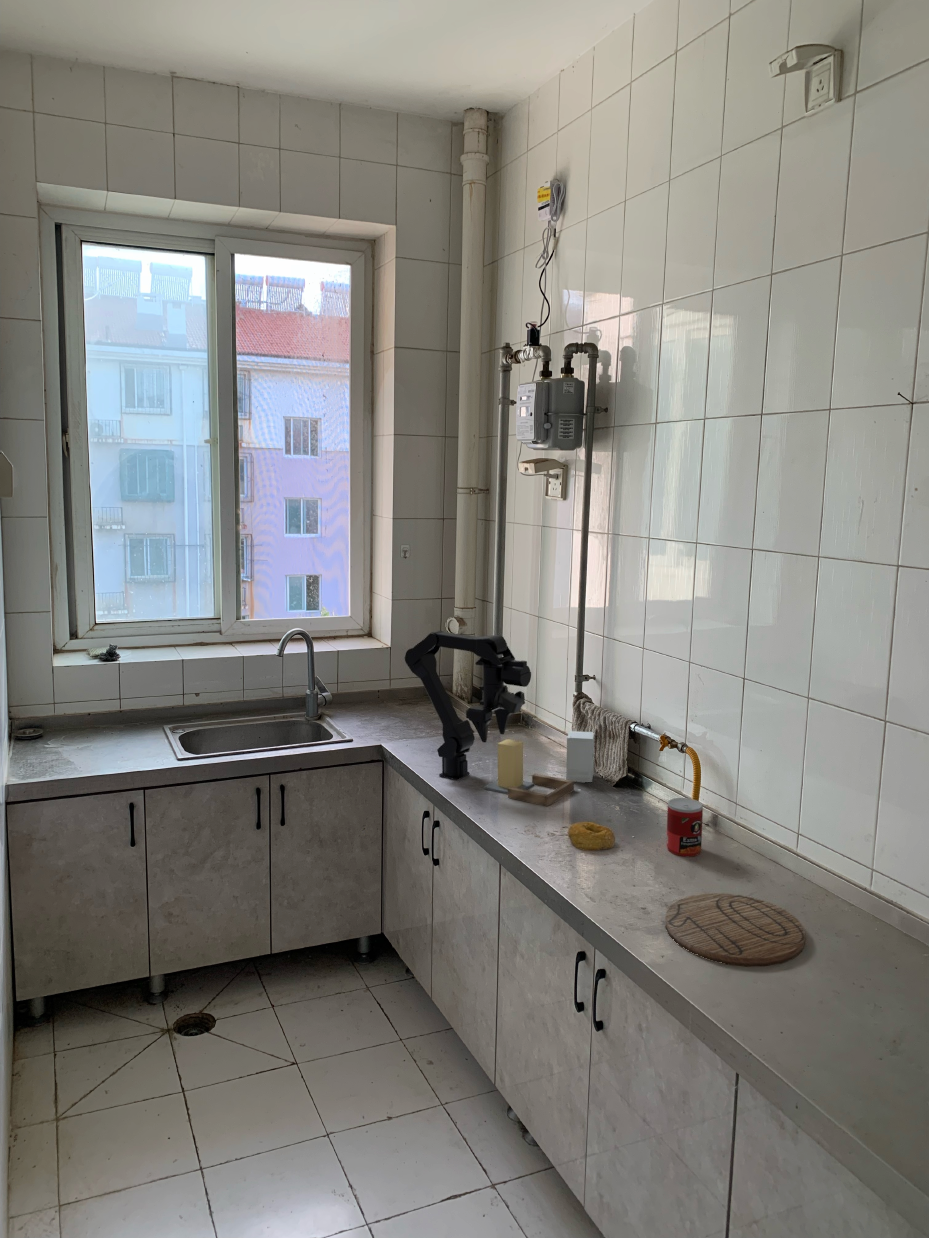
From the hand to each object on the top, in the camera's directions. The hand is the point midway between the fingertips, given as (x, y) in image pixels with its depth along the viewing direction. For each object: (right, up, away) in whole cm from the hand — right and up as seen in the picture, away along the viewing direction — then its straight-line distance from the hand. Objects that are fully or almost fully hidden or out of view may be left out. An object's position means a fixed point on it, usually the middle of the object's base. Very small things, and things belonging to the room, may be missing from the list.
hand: (493, 738), depth 252 cm
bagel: (+21, -20, -39) cm, 49 cm away
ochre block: (+5, -13, -1) cm, 14 cm away
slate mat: (+4, -13, -1) cm, 14 cm away
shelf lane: (+12, -14, -6) cm, 19 cm away
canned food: (+42, -20, -43) cm, 63 cm away
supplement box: (+24, -12, +6) cm, 28 cm away
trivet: (+42, -26, -80) cm, 94 cm away
